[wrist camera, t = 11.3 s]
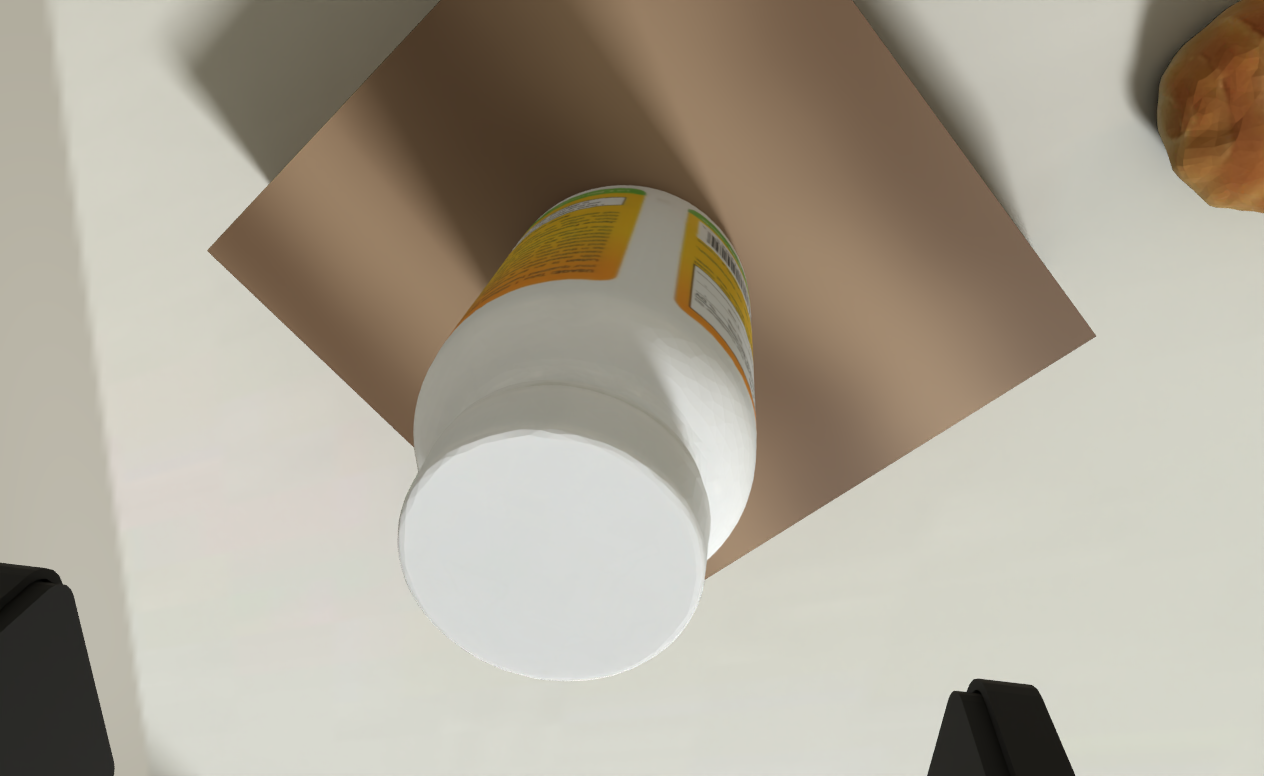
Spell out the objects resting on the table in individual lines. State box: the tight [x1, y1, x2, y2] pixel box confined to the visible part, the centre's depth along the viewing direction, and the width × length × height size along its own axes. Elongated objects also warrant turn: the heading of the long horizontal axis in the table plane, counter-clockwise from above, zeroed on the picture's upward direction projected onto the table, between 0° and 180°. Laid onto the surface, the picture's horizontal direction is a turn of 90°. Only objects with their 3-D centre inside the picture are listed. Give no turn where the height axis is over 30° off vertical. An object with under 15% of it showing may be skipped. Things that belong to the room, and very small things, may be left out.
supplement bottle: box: [398, 185, 757, 681], centre depth 16 cm, size 5×5×10 cm
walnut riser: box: [207, 0, 1096, 579], centre depth 22 cm, size 14×14×4 cm
